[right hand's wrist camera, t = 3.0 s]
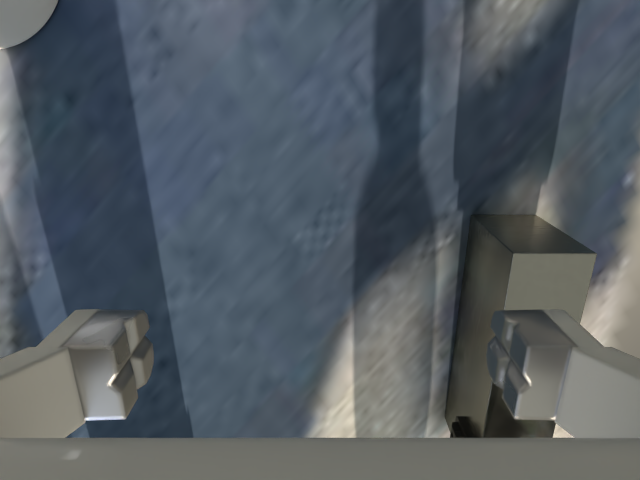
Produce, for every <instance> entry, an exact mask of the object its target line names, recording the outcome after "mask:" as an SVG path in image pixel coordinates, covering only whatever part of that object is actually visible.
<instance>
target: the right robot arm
mask: <svg viewBox="0 0 640 480" xmlns="http://www.w3.org/2000/svg"><path fill="white" fill-rule="evenodd" d="M57 3H58V0H0V49H5V48H9V47H12V46H15V45H18V44H20V43H22V42H24V41H26V40H27V39H29V38H30V37H32V36H33V35H34V34H36V33H37V32H38V31H39V30H40V29H41V28H42V27H43V26H44V24H45V23H46V22H47V21H48V19H49V18H50V16H51V15H52V13H53V11H54V9H55V7H56V5H57ZM149 328H150V326H149V321H148V316H147V314H146V313H145V311H144V310H103V309H102V310H100V309H81V310H75V311H74V312H73V313H72V314H71V315H70V316H69V317H68V318H66V319H65V320H64V321H63V322H62V323H61V324H60V325H59V326H58V327H57V328H56V329H55V330H54V331H52V332H51V333H50V334H49V335H48V336H47V337H46V338H45V339H44V340H43V341H42V342H41V343H40V344H39V345H37V346H36V347H28V348H25V349H23V350H20V351H18V352H16V353H13V354H11V355H8V356H6V357H3V358H1V359H0V480H640V359H639V358H637V357H634V356H632V355H629V354H627V353H624V352H622V351H620V350H617V349H615V348H612V347H604V346H603V345H602V344H600V343H599V342H598V341H597V340H596V339H595V338H594V337H593V336H592V335H591V334H590V333H589V332H588V331H587V330H585V329H584V328H583V327H582V326H581V325H580V324H579V323H578V322H577V321H576V320H575V319H574V318H573V317H572V316H570V315H569V314H568V313H567V312H566V311H565V310H561V309H546V310H542V309H540V310H500V311H495V312H494V314H493V316H492V320H491V326H490V328H491V329H492V331H493V332H494V334H495V336H494V338H493V339H492V340H491V341H490V342H489V343H488V345H487V353H486V360H487V369H488V372H489V375H490V377H491V379H492V381H493V383H494V384H495V385H497V386H498V387H500V388H501V389H503V394H502V399H503V400H504V402H505V404H506V406H507V407H508V409H509V411H510V412H511V414H512V416H513V418H514V419H522V420H555V423H556V424H558V425H559V426H560V427H562V428H563V429H564V430H566V431H567V432H568V433H570V434H571V435H572V436H574V437H575V438H65V437H67V436H68V435H69V434H71V433H72V432H73V431H75V430H76V429H77V428H79V427H80V426H81V425H83V424H84V423H85V420H117V419H126V418H127V416H128V414H129V413H130V411H131V409H132V407H133V406H134V404H135V402H136V400H137V399H138V394H137V389H139V388H140V387H142V386H143V385H145V384H146V383H147V381H148V379H149V377H150V375H151V372H152V367H153V363H154V352H153V345H152V343H151V342H150V341H149V340H148V339H147V338H146V336H145V334H146V332H147V331H148V329H149Z"/></svg>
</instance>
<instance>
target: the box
mask: <svg viewBox="0 0 640 480" xmlns="http://www.w3.org/2000/svg"><path fill="white" fill-rule="evenodd" d="M596 255H597V254H596V253H595V252H594V251H592V250H590V249H589V248H587V247H586V246H584V245H582V244H581V243H579V242H578V241H576V240H575V239H573V238H571V237H570V236H568V235H567V234H565V233H563V232H562V231H560V230H559V229H557V228H556V227H554V226H552V225H551V224H549V223H548V222H546V221H544V220H543V219H541V218H540V217H538V216H537V215H471V219H470V227H469V234H468V242H467V250H466V258H465V266H464V273H463V281H462V289H461V297H460V304H459V312H458V320H457V328H456V336H455V343H454V351H453V359H452V367H451V375H450V382H449V390H448V398H447V406H446V413H445V419H446V422H447V425H448V427H449V430H450V433H451V427H452V422H455V419H456V416H464V417H465V419H466V421H467V424H468V426H469V429H470V431H471V433H472V436H473V438H552V437H553V433H554V429H555V425H556V423H555V420H522V419H514V418H513V416H512V414H511V412H510V411H509V409H508V407H507V406H506V404H505V402H504V400H503V399H502V394H503V389H501V388H500V387H498V386H497V385H495V384H494V383H493V381H492V379H491V377H490V375H489V372H488V369H487V360H486V353H487V345H488V343H489V342H490V341H491V340H492V339H493V338H494V336H495V334H494V332H493V331H492V329H491V328H490V326H491V320H492V316H493V314H494V312H495V311H500V310H540V309H542V310H546V309H561V310H565V311H566V312H567V313H568V314H569V315H570V316H572V317H573V318H574V319H575V320H576V321H577V322H578V323H579V324H580V321H581V317H582V313H583V309H584V305H585V301H586V297H587V292H588V288H589V284H590V280H591V276H592V272H593V268H594V264H595V259H596Z"/></svg>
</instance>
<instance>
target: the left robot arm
mask: <svg viewBox="0 0 640 480" xmlns="http://www.w3.org/2000/svg"><path fill="white" fill-rule="evenodd" d="M450 438H473V436H472V433H471V431H470V429H469V426H468V424H467V421H466V419H465V417H464V416H456V419H455V422H452V427H451V434H450Z"/></svg>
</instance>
